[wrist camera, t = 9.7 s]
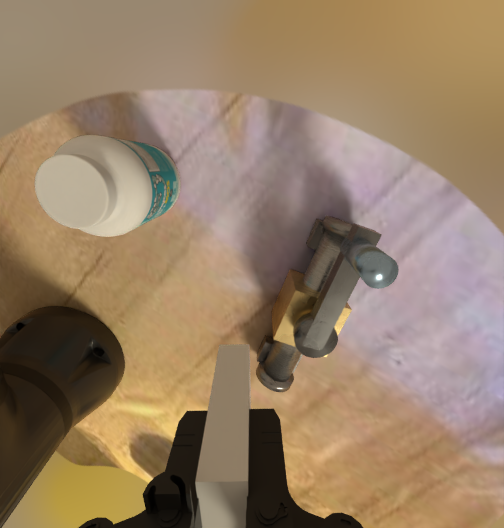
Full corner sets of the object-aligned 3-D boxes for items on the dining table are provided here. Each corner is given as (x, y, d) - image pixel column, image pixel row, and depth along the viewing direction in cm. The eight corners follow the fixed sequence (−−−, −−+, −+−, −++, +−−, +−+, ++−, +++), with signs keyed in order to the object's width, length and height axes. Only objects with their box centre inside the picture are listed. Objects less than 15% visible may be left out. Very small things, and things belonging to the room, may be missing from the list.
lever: (323, 352, 29) (338, 398, 23) (286, 341, 29) (293, 384, 23) (385, 234, 25) (421, 255, 19) (342, 219, 25) (366, 236, 19)
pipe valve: (251, 357, 38) (249, 396, 32) (315, 210, 31) (329, 222, 25) (293, 370, 39) (300, 412, 32) (365, 228, 32) (391, 245, 25)
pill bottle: (153, 229, 33) (84, 271, 20) (100, 180, 31) (-12, 192, 18) (197, 181, 31) (152, 194, 18) (143, 127, 29) (52, 99, 16)
